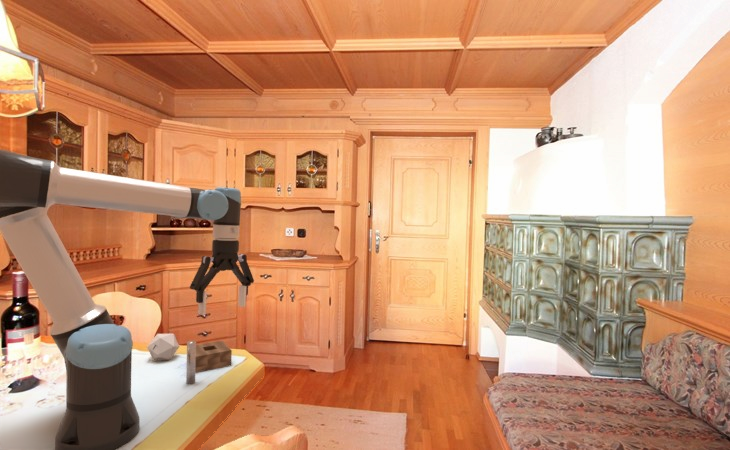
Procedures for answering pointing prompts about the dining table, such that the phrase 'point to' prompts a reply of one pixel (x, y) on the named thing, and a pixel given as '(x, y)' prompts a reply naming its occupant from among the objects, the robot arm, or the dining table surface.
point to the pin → (191, 362)
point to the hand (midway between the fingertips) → (222, 309)
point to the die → (163, 346)
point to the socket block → (212, 356)
